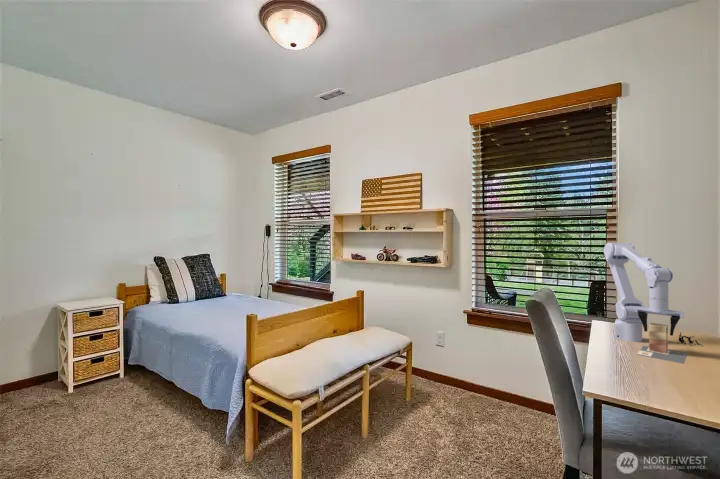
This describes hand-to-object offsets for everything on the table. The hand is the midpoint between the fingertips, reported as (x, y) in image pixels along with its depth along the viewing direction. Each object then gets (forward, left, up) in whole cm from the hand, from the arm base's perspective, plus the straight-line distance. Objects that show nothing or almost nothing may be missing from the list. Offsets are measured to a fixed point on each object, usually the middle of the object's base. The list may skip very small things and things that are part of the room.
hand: (658, 333), depth 135 cm
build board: (+2, -4, -8) cm, 9 cm away
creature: (+8, +21, -8) cm, 24 cm away
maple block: (0, 0, -2) cm, 2 cm away
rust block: (0, 0, -7) cm, 7 cm away
